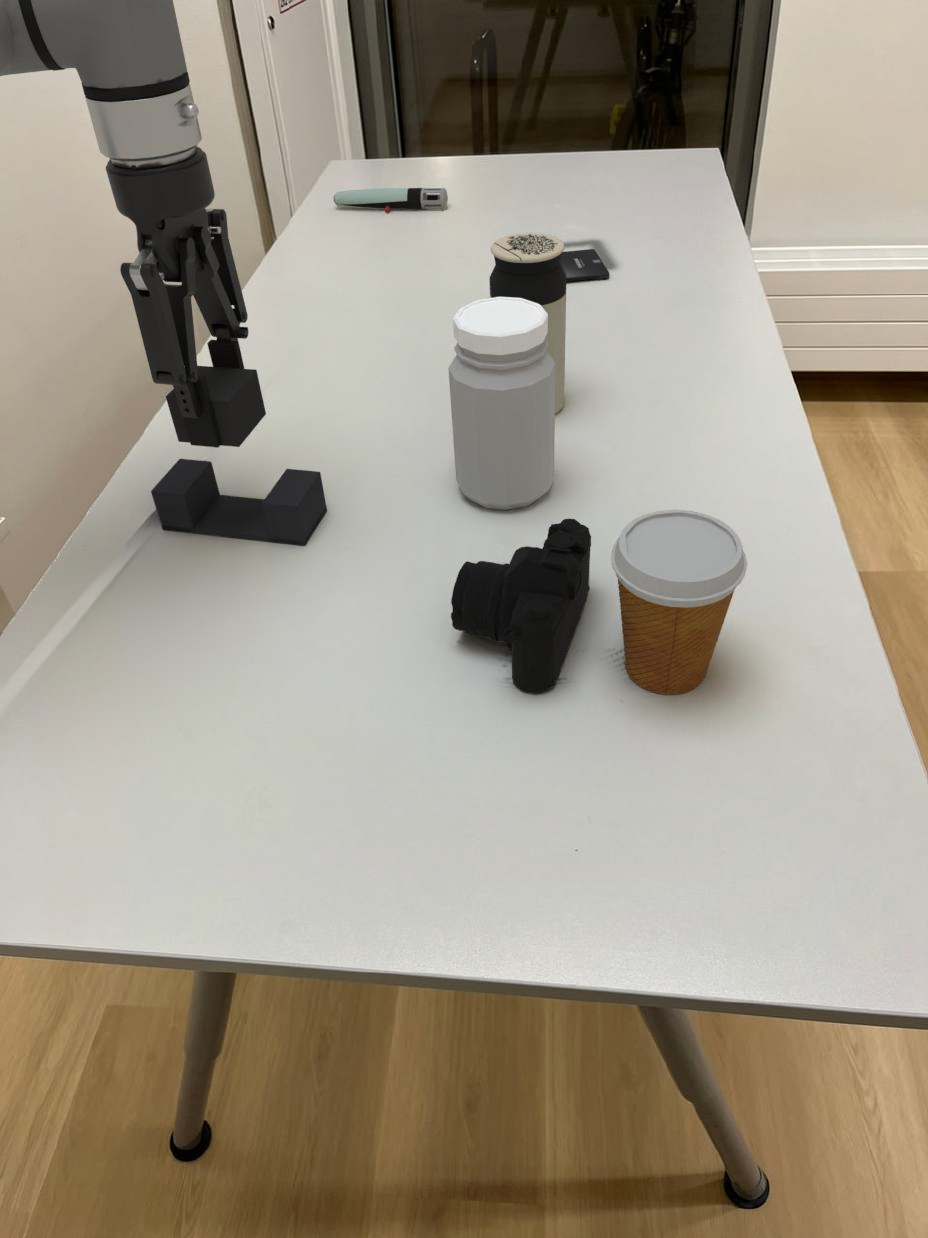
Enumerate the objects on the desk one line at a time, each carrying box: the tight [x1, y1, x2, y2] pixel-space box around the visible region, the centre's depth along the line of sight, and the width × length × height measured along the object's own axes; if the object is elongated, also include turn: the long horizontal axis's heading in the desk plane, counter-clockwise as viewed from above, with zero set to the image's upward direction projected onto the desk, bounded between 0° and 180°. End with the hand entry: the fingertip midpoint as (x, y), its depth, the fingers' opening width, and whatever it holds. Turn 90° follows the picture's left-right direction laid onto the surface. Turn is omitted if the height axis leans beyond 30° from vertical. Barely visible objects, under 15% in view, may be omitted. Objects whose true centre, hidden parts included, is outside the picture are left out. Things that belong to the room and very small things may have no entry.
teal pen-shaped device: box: [333, 187, 449, 214], centre depth 162 cm, size 3×4×20 cm
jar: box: [448, 297, 556, 511], centre depth 90 cm, size 10×10×18 cm
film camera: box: [450, 518, 592, 695], centre depth 76 cm, size 15×10×9 cm, turn 161°
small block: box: [165, 365, 267, 448], centre depth 85 cm, size 6×6×4 cm
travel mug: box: [489, 232, 567, 414], centre depth 102 cm, size 8×8×18 cm
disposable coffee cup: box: [610, 509, 748, 695], centre depth 71 cm, size 10×10×12 cm
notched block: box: [150, 458, 328, 547], centre depth 92 cm, size 15×6×4 cm, turn 76°
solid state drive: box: [560, 248, 610, 283], centre depth 138 cm, size 7×10×1 cm
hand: (222, 424), depth 87 cm, fingers closed on small block, 6 cm apart
